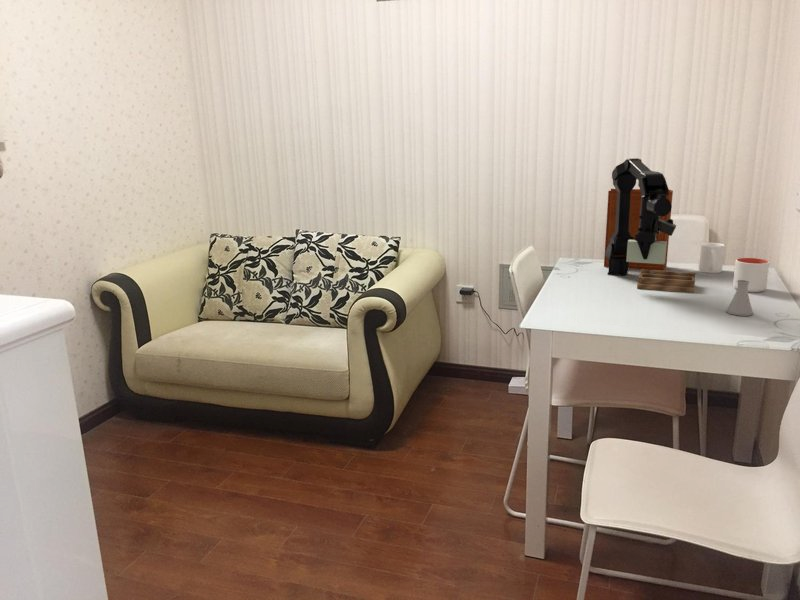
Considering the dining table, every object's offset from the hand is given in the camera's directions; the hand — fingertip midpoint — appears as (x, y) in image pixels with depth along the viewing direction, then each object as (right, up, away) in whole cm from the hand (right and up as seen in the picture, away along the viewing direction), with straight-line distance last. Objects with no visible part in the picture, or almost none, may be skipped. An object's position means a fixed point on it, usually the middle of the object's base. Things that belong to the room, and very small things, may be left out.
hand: (645, 258), depth 224 cm
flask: (+19, -18, -25) cm, 36 cm away
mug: (+34, -4, +28) cm, 44 cm away
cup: (+36, -11, +2) cm, 37 cm away
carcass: (+10, -10, +7) cm, 15 cm away
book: (+10, -1, +39) cm, 41 cm away
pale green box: (0, -1, 0) cm, 1 cm away
